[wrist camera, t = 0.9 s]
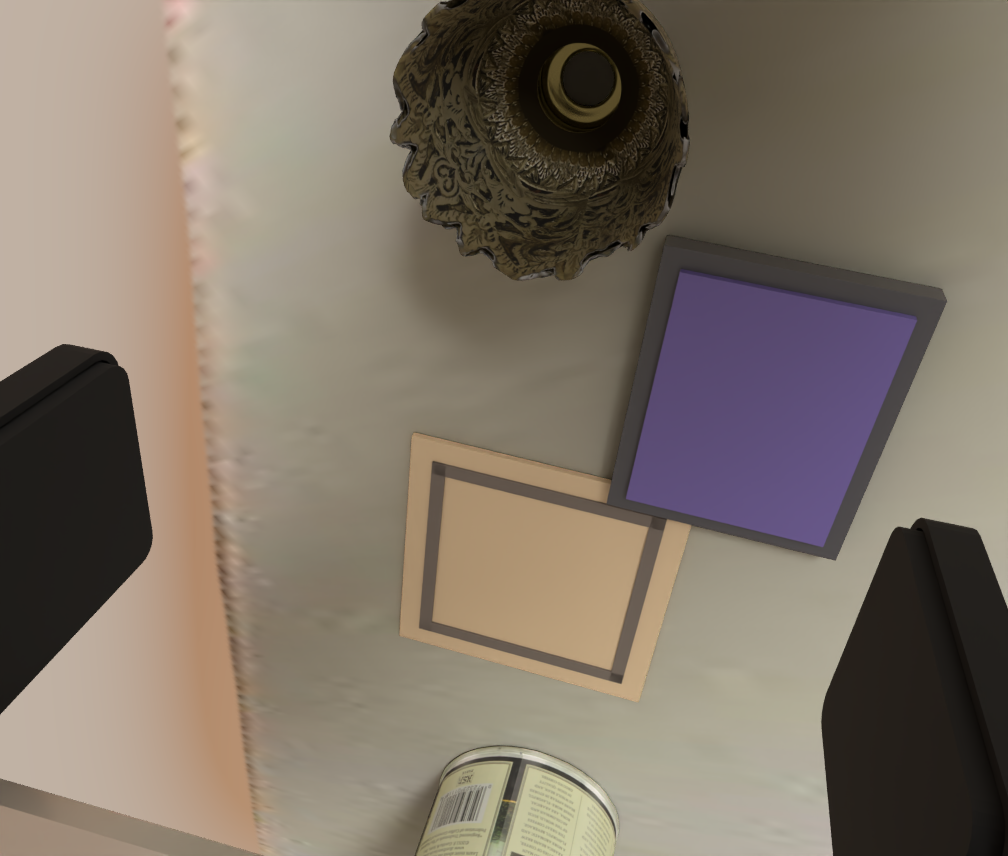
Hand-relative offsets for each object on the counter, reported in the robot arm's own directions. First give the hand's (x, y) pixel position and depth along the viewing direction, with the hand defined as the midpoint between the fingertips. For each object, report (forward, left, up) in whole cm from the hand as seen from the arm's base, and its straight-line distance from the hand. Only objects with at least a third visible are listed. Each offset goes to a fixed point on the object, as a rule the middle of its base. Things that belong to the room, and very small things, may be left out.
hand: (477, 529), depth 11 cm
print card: (+20, -1, -21) cm, 29 cm away
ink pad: (+9, +6, -21) cm, 24 cm away
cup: (-1, -2, -21) cm, 21 cm away
